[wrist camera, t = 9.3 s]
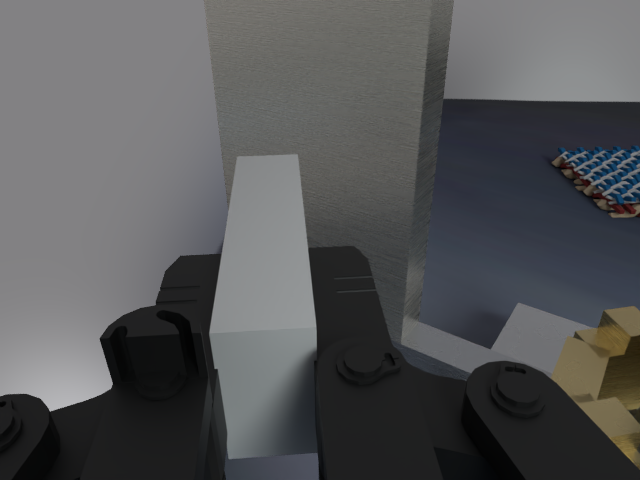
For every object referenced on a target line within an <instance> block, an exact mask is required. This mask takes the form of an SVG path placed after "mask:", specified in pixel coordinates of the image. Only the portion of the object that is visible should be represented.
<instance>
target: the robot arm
mask: <svg viewBox="0 0 640 480" xmlns="http://www.w3.org/2000/svg"><path fill="white" fill-rule="evenodd" d="M100 342H101V345H102V348H103V352H104V355H105V358H106V362H107V365H108V368H109V371H110V375H111V378H112V382H113V385H112V388H111V389H110V390H108V391H107V392H105V393H103V394H102V395H99V396H97V397H95V398H92V399H89V400H86V401H83V402H80V403H77V404H73V405H70V406H67V407H64V408H60V409H57V410H54V411H51V412H50V411H49V409H48V408H47V406H46V405H45V404H44V403H43V401H42V400H41V399H40V398H37V397H34V396H31V395H28V394H10V395H9V394H8V395H4V396H0V480H226V477H225V471H224V467H225V456H226V445H227V451H228V457H229V459H238V458H252V457H266V456H279V455H293V454H307V453H318V461H319V480H640V470H639V469H638V467H637V466H636V465H635V464H634V463H633V462H632V461H631V460H630V459H629V458H628V457H627V456H626V455H625V454H624V453H623V452H622V451H621V450H620V449H619V448H618V447H617V446H616V444H615V443H614V442H613V441H612V440H611V439H610V438H609V437H608V436H607V435H606V434H605V433H604V432H603V431H602V430H601V429H600V428H599V427H598V426H597V425H596V424H595V423H594V421H593V420H592V419H591V418H590V417H589V416H588V415H587V414H586V413H585V412H584V411H583V410H582V409H581V408H580V407H579V406H578V405H577V404H576V403H575V402H574V401H573V400H572V398H571V397H570V396H569V395H568V394H567V393H566V392H565V391H564V390H563V389H562V388H561V387H560V386H559V385H558V384H557V383H556V382H555V381H553V380H552V379H551V378H549V377H548V376H547V375H546V374H544V373H543V372H541V371H539V370H537V369H535V368H532V367H530V366H528V365H526V364H522V363H517V362H511V361H495V362H487V363H485V364H483V365H481V366H479V367H477V368H475V369H474V370H473V372H472V373H471V375H470V376H469V377H468V379H467V381H465V380H459V379H454V378H449V377H443V376H438V375H435V374H431V373H427V372H424V371H422V370H420V369H418V368H416V367H414V366H412V365H411V364H409V363H408V362H407V361H406V360H405V358H404V356H403V355H402V353H401V352H400V351H399V350H397V349H396V348H395V347H394V346H393V344H392V342H391V338H390V335H389V331H388V328H387V324H386V321H385V317H384V314H383V310H382V307H381V303H380V300H379V296H378V293H377V291H376V286H375V282H374V279H373V277H372V272H371V268H370V265H369V261H368V259H367V258H366V257H365V256H364V255H363V254H362V253H361V252H360V251H359V250H358V249H357V248H356V247H355V246H336V247H316V248H308V244H307V235H306V226H305V216H304V207H303V198H302V189H301V179H300V170H299V161H298V154H292V155H266V156H240V157H237V161H236V167H235V173H234V180H233V186H232V192H231V199H230V205H229V211H228V218H227V224H226V230H225V237H224V243H223V249H222V254H209V255H189V256H180V257H179V258H178V259H177V260H176V261H175V262H174V263H173V264H172V265H171V266H170V267H169V268H168V269H167V270H166V271H165V274H164V277H163V281H162V284H161V287H160V291H159V294H158V297H157V300H156V305H155V306H150V307H144V308H140V309H137V310H135V311H133V312H130V313H128V314H125V315H123V316H122V317H120V318H119V319H117V320H116V321H115V322H113V323H112V324H111V325H109V326H108V328H107V329H106V330H105V332H104V333H103V335H102V336H101V337H100Z"/></svg>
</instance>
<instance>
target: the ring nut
mask: <svg viewBox="0 0 640 480" xmlns="http://www.w3.org/2000/svg"><path fill="white" fill-rule="evenodd" d="M204 4H205V12H206V21H207V30H208V38H209V47H210V56H211V64H212V73H213V80H214V90H215V99H216V106H217V107H216V108H217V116H218V125H219V133H220V142H221V151H222V159H223V168H224V176H225V185H226V194H227V203H228V211H229V205H230V199H231V192H232V186H233V180H234V173H235V167H236V161H237V157H240V156H266V155H292V154H298V161H299V170H300V179H301V189H302V198H303V207H304V216H305V226H306V235H307V244H308V248H316V247H336V246H355V247H356V248H357V249H358V250H359V251H360V252H361V253H362V254H363V255H364V256H365V257H366V258H367V259H368V261H369V265H370V268H371V272H372V277H373V279H374V282H375V286H376V291H377V293H378V296H379V300H380V303H381V307H382V310H383V314H384V317H385V321H386V324H387V328H388V331H389V335H390V338H391V342H392V344H393V346H394V347H395V348H396V349H397V350H399V351H400V352H401V353H402V355H403V356H404V358H405V360H406V361H407V362H408V363H409V364H411V365H412V366H414V367H416V368H418V369H420V370H422V371H424V372H427V373H431V374H435V375H438V376H443V377H449V378H454V379H459V380H465V381H467V379H468V377H469V376H470V375H471V373H472V372H473V370H474V369H475V368H477V367H479V366H481V365H483V364H485V363H487V362H495V361H511V362H517V363H522V364H526V365H528V366H530V367H532V368H535V369H537V370H539V371H541V372H543V373H544V374H546V375H547V376H548V377H549V378H551V379H552V380H553V381H555V382H556V383H557V384H558V385H559V386H560V387H561V388H562V389H563V390H564V391H565V392H566V393H567V394H568V395H569V396H570V397H571V398H572V400H573V401H574V402H575V403H576V404H577V405H578V406H579V407H580V408H581V409H582V410H583V411H584V412H585V413H586V414H587V415H588V416H589V417H590V418H591V419H592V420H593V421H594V423H595V424H596V425H597V426H598V427H599V428H600V429H601V430H602V431H603V432H604V433H605V434H606V435H607V436H608V437H609V438H610V439H611V440H612V441H613V442H614V443H615V444H616V446H617V447H618V448H619V449H620V450H621V451H622V452H623V453H624V454H625V455H626V456H627V457H628V458H629V459H630V460H631V461H632V462H633V463H634V464H635V465H636V466H637V467H638V469H639V470H640V453H639V452H638V451H637V448H638V446H639V444H640V424H639V423H638V422H637V420H636V419H635V418H634V417H633V416H632V415H631V414H630V412H629V411H628V410H632V409H638V408H639V406H640V311H639V310H638V309H637V308H636V307H635V306H630V307H623V308H616V309H609V310H604V311H603V314H602V317H601V320H600V323H599V326H598V328H593V329H586V330H579V331H575V334H574V337H570V336H567V339H566V341H565V344H564V346H563V349H562V351H561V354H560V356H559V358H558V361H557V363H556V366H555V368H554V371H553V373H550V372H547V371H545V370H542V369H540V368H537V367H534V366H532V365H529V364H527V363H524V362H522V361H519V360H516V359H514V358H511V357H509V356H506V355H503V354H501V353H498V352H496V351H493V350H491V349H488V348H485V347H483V346H480V345H478V344H475V343H473V342H470V341H467V340H465V339H462V338H460V337H457V336H454V335H452V334H449V333H447V332H444V331H442V330H439V329H436V328H434V327H431V326H429V325H426V324H424V323H421V322H419V314H420V305H421V296H422V287H423V278H424V269H425V259H426V250H427V241H428V232H429V223H430V214H431V205H432V196H433V186H434V177H435V168H436V159H437V150H438V141H439V132H440V123H441V114H442V104H443V95H444V86H445V76H446V68H447V58H448V49H449V41H450V31H451V22H452V13H453V4H454V0H204Z"/></svg>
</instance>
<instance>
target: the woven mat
mask: <svg viewBox="0 0 640 480" xmlns="http://www.w3.org/2000/svg"><path fill="white" fill-rule="evenodd" d="M558 151H559V152H560V153H561V155H560V156H559V157H556V159H555V160H554V161H553V162H552V164H553V165H554V166H556V167H560V168H566V169H564V170H562V172H563V174H564V175H565V176H566V177H567V178H570V179H575V178H579V179H577V180H574V183H575V184H584V185H585V186H576V187H575V188H577V189H578V190H579V191H581V190H584V191H583V192H584V193H585V194H586V195H587V196H592V197H593V198H598V197H599V198H601V199H593V200H594V201H595V202H596V203H597V205H598V206H599V208H600V209H603V210H615V211H616V212H614V213H608V214H609V215H610V216H611V217H634V216H638V217H640V204H636V203H640V148H639V147H638V146H631V150H627V149H622V150H621V148H620V147H619V146H613V150H611V151H609V150H604V151H603V149H602V147H595V151H590V150H586V151H585V150H584V148H582V147H577V151H573V152H572V151H567V152H566V151H565V149H564V148H558ZM578 151H579V152H578ZM611 154H612V155H611Z"/></svg>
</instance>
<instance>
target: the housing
mask: <svg viewBox="0 0 640 480" xmlns="http://www.w3.org/2000/svg"><path fill="white" fill-rule="evenodd" d="M586 329H593V328H592V327H589V326H586V325H583V324H580V323H577V322H574V321H571V320H568V319H565V318H562V317H559V316H556V315H553V314H550V313H547V312H545V311H542V310H539V309H536V308H533V307H530V306H527V305H524V304H521V303H518V304H517V306H516V307H515V309H514V311H513V313H512V314H511V316H510V318H509V319H508V321H507V323H506V324H505V326H504V328H503V330H502V331H501V333H500V335H499V336H498V338H497V340H496V341H495V343H494V345H493V347H492V348H491V350H493V351H496V352H498V353H501V354H503V355H506V356H509V357H511V358H514V359H516V360H519V361H522V362H524V363H527V364H529V365H532V366H534V367H537V368H540V369H542V370H545V371H547V372H550V373H553V371H554V368H555V366H556V363H557V361H558V358H559V356H560V354H561V351H562V349H563V346H564V344H565V341H566V339H567V336H570V337H574V334H575V331H579V330H586ZM628 411H629V412H630V414H631V415H632V416H633V417H634V418H635V419H636V420H637V422H638V423H639V424H640V406H639V408H638V409H632V410H628ZM637 451H638V452H639V453H640V444H639V446H638V448H637Z"/></svg>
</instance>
